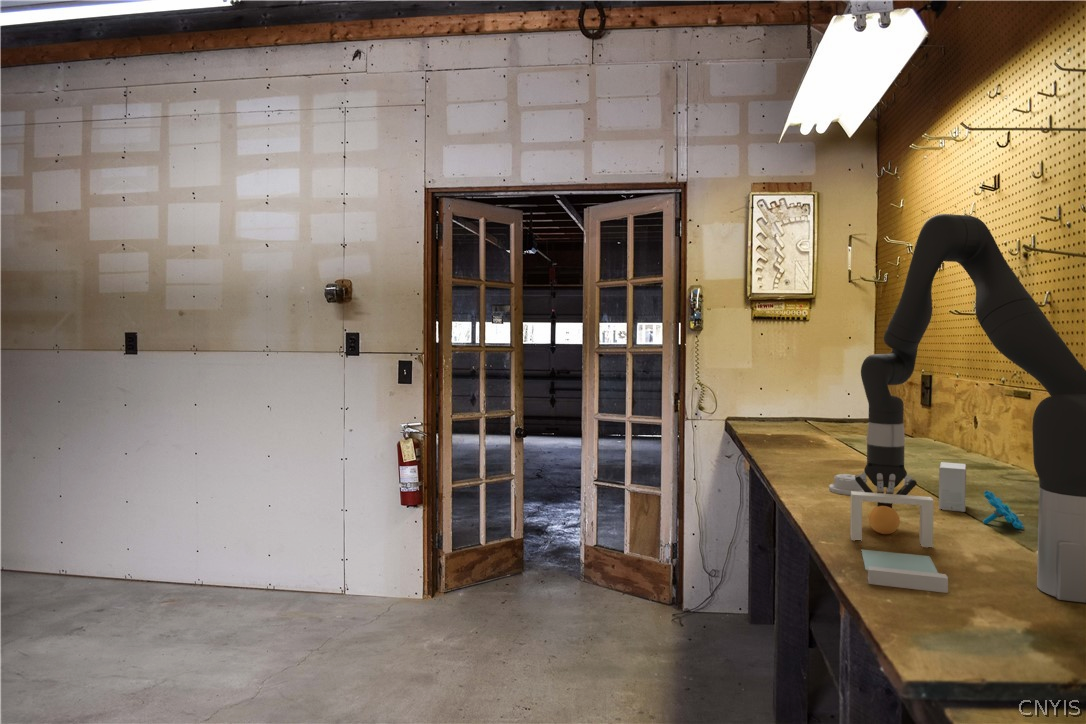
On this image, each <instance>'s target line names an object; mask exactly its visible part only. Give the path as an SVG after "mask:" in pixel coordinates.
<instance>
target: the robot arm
mask: <svg viewBox="0 0 1086 724" xmlns="http://www.w3.org/2000/svg"><path fill="white" fill-rule="evenodd" d="M944 262H949V263H950V262H952V263H958V264H959V265H960V266H961V267H962V268H963V269H964V270H965V272H966V274H967V275H968V276H969V278H970V279H971V281H972V283H973V285H974V287H975V301H974V302H975V304H974V305H975V306H974V310H975V315H976V319H977V321H978V324H979V326H980V327H981V328H982V330H983V332H984V333H985V335H986V336H987V338H988V339H989V341H990V342H991V344H992V345H993V347H995V349H996V350H998V352H999V353H1000V354H1001V355H1003V356H1004V357H1005V358H1007V360H1009V361H1011V362H1012V363H1014V365H1016V366H1018V367H1019V368H1021V369H1022V370H1023V371H1025V372H1026V373H1027V374H1028V375H1030V376H1031V377H1033V378H1034V379H1035V380H1036V381H1037V382H1039V383H1040V385H1041V386H1042V387H1043V388H1044V389H1045V391H1047V393H1048V394H1049V396H1047V397H1045V398H1044V399H1042V400H1040V402H1039V403H1038V405H1037V406H1036V408H1035V409H1034V412H1033V417H1032V426H1031V427H1032V453H1033V457H1032V458H1033V465H1034V466H1033V467H1034V470H1035V472H1036V475H1037V476H1038V480H1039V481H1038V483H1039V484H1038V485H1039V488H1038V516H1037V517H1038V521H1037V522H1038V523H1037V524H1038V525H1037V560H1036V561H1037V569H1036V571H1037V572H1036V573H1037V575H1036V576H1037V577H1036V578H1037V579H1036V587H1037V588H1038V590H1040V591H1041V592H1043V593H1045V594H1047V595H1049V596H1052V597H1055V598H1056V599H1057V600H1058V601H1068V602H1076V603H1085V604H1086V368H1085V367H1083V365H1082V364H1081V363H1080V362H1079V361H1078V359H1077V358H1076V356H1075V355H1074V354H1073V352H1072V351H1071V349H1069V347H1068V345H1067V344H1066V343H1065V341H1064V339H1062V338H1061V336H1060V334H1058V332H1057V331H1056V330H1055V328H1054V327H1053V325H1052V324H1051V322H1050V320H1049V319H1048V317H1047V315H1046V314H1045V313H1044V312H1043V310H1042V309H1041V308H1040V306H1039V304H1037V302H1036V301H1035V299H1034V298H1033V297H1032V296H1031V295H1030V293H1029V292H1028V291H1027V289H1026V288H1025V287H1024V285H1023V284H1022V281H1020V279H1019V278H1018V276H1017V275H1016V273H1015V272H1014V271H1013V269H1012V268H1011V266H1010V265H1009V263H1008V261H1007V260H1006V259H1005V257H1004V255H1003V253H1002V252H1001V249H1000V248H999V246H998V244H997V242H996V240H995V238H994V236H993V234H992V232H991V231H990V229H989V228H988V226H987V225H986V223H985V222H984V221H982V219H980V218H978V217H975V216H972V215H967V214H949V213H939V214H935V215H933V216H931V217H930V218H928V220H927V221H926V222H924V224H923V226H922V227H921V229H920V231H919V234H918V236H917V239H916V242H915V246H914V250H913V254H912V256H911V260H910V263H909V264H910V265H909V267H908V271H907V274H906V279H905V283H904V286H903V289H902V294H901V295H900V299H899V301H898V304H897V306H896V308H895V311H894V313H893V315H892V317H891V318H890V321H889V323H888V326H887V327H886V330H885V333H884V335H883V341H884V344H885V345H886V347H887V346H888V348H891V349H892V350H891V352H890V353H875V354H870V355H868V356H866V358H865V359H864V360H863V362H862V364H861V368H860V376H861V377H860V378H861V381H862V382H861V383H862V385H863V388H864V394H865V396H866V400H867V403H868V425H867V429H866V434H867V435H866V465H865V467H864V471H863V472H861V473H860V474H855V475H856V476H855V480H856V482H857V483H858V484H859V485H860V487H861V488H862V489H863V490H864V491H865V492H868V493H875V492H874V491H873V490H872V489H871V487H870V486H869V485H868V484H867V482H868V479H869V481H870V482H871V483H872V485H874V487H876V493H882V494H896V495H909V493H910V492H911V491H912V490H913V489H914V488H915V487H916V486H917V485H918V483H917V481H916V479H915V478H912V477H911V476H910V475H908V471H907V470H906V468H905V428H904V409H905V407H904V401H903V400H902V398H901V397H898V396H896V395H895V396H894V395H891V392H890V390H889V386H896V385H897V386H899V385H902V384H904V383H906V382H907V381H908V380H909V379H910V378H911V377H912V375H913V373H914V371H915V367H916V360H917V355H918V350H919V349H918V347H919V344H920V343H921V341H922V339H923V337H924V335H925V332H926V331H927V329H928V326H930V325H929V324H930V322H931V320H932V316H933V298H932V297H933V295H932V291H933V290H932V289H933V283H934V282H933V281H934V279H935V276H936V274H937V272H938V271H939V269H940V267H941V266H942V264H943V263H944ZM867 478H868V479H867ZM902 481H903V486H902V487H901V488H900V489H899V490H898V491H897V492H896V493H895V488H896V487H898V486H899V484H901V482H902ZM884 488H886V489H885V491H886V492H885V491H884ZM893 504H894V503H882V502H877V507H878V506H888V507H890V508H892V509H893Z"/></svg>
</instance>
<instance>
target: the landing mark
mask: <svg viewBox="0 0 1086 724" xmlns="http://www.w3.org/2000/svg"><path fill="white" fill-rule="evenodd" d="M860 551H862V552H861V555H862V560H863V563H864V569H865V571H867V572H868V566H873V567H882V568H891V569H901V570H910V571H920V572H929V573H938V574H939V572H938V570H937V568H936V566H935V564H934V562H933V560H932V559H931V556H929V555H921V554H911V553H900V552H890V551H882V550H872V549H871V550H870V549H860Z"/></svg>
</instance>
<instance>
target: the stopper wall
mask: <svg viewBox="0 0 1086 724" xmlns="http://www.w3.org/2000/svg"><path fill="white" fill-rule="evenodd" d="M867 583H868V585H875V586H884V587H892V588H902V589H909V590H911V589H912V590H917V591H925V592H926V591H927V592H934V593H936V592H937V593H942V594H944V593H945V594H948V593H949V577H948V576H947V574H946V573H939V572H938V573H929V572H920V571H910V570H901V569H891V568H882V567H873V566H868V571H867Z"/></svg>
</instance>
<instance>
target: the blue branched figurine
mask: <svg viewBox="0 0 1086 724" xmlns="http://www.w3.org/2000/svg"><path fill="white" fill-rule="evenodd" d="M983 493H984V498H985V499H987V501H988V503H989V505H991V507H994V508H995V510H993V513H992V514H990V515H989V516H987V517H986V518H985V519H983V520H982V523H984V524H985V525H988V524H990V523H991V522H993V521H994V520H996V519H997V518H1002V517H1004V520H1005V521H1006V522H1007V523H1009V524H1010V523H1011V525H1012V526H1013V527H1014V528H1015V529H1018V530H1020V529H1021V530H1024V528H1025V527H1024V522H1022V521H1021V520H1020V518H1019V516H1018V515H1017V514H1016V513H1015V512H1013V510H1012V509H1011V508H1010V505H1009V504H1008V503H1003V500H1002V499H1001V498H1000V497H996V495H995V494H994V492H992V491H989V490H987V489H986V490H985V491H984V492H983Z"/></svg>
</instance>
